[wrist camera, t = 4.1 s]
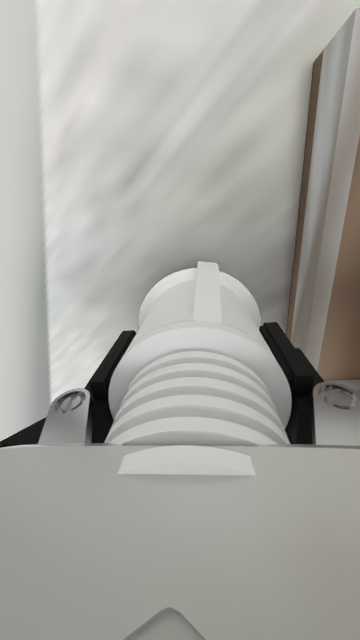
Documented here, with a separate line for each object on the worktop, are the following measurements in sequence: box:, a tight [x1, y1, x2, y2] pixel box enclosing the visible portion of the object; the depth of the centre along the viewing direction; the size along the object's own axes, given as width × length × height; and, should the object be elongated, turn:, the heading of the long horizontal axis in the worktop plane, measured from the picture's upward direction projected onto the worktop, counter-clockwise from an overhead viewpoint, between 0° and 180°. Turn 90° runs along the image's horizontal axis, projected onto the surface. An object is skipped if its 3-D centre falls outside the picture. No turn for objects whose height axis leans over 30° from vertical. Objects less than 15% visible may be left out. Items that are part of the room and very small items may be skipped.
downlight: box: [104, 261, 292, 476], centre depth 9 cm, size 8×7×10 cm
